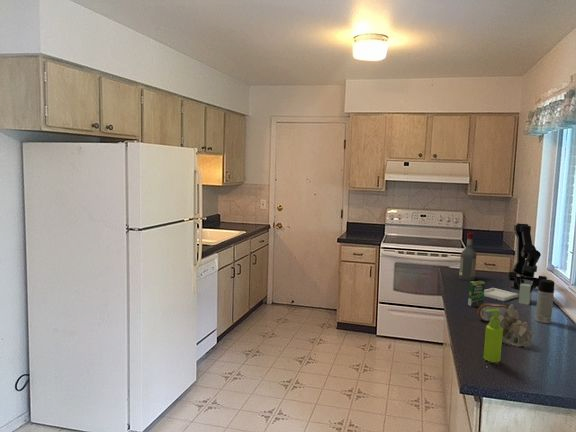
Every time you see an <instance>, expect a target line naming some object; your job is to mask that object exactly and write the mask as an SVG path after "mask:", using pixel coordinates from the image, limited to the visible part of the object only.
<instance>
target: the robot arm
mask: <svg viewBox="0 0 576 432" xmlns="http://www.w3.org/2000/svg"><path fill="white" fill-rule="evenodd" d="M513 231H514V234H515V236H516V238H517V243H516V244H517V245H516V246H517V247H516V248H517V249H516V250H517V253H516V263H515V264H514V265H513V268H512V271H509V272H508V275H507V276H508V280H509V281H510V282H513V285H512V286H510V288H511V289H516V290H518V292H520V285H521V283H524V284H525V281H528V282H529V281H530V282H532V284H531V285H532V286H531V289H530V293H531V294H532V293H533V291H534V290H535V289H536V288H537V287H539V282H540V279H548V278H547V276H546V275H544V276H543V275H538V277H535V273H537V271H538V265H537V263H538V262H539V260H540V257H541V256H542V255H541V252H540V251H539V250H538V249H537V247H536V246H535V245H534V244H533V241H532V235H531V231H532V226H531V225H529V224H528V223H516V224H514V225H513Z"/></svg>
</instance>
